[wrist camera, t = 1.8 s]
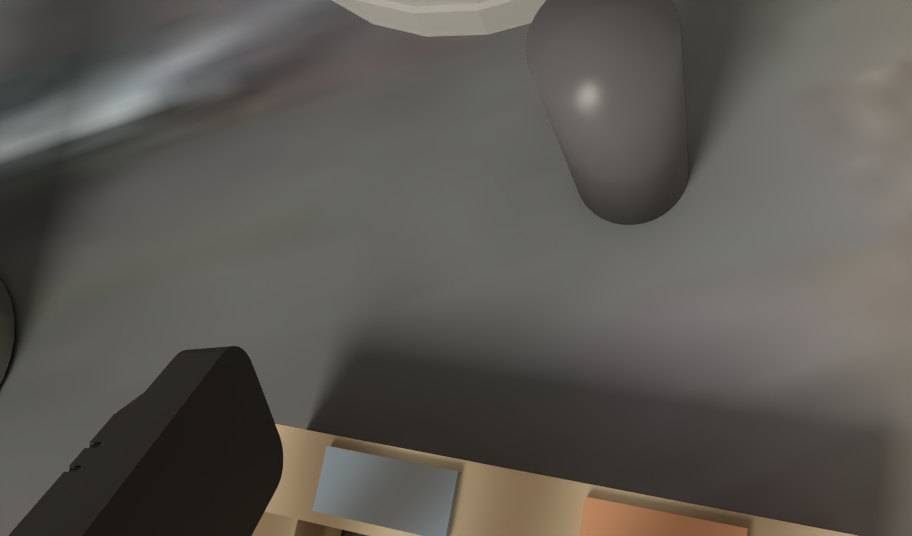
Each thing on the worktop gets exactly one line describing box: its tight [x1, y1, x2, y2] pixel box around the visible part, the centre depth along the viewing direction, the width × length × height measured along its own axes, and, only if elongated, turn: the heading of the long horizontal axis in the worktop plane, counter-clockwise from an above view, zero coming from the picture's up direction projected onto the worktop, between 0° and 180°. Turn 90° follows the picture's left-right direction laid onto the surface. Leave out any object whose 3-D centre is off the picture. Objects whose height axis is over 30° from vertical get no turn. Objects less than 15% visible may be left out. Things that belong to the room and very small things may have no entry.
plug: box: [526, 0, 689, 225], centre depth 29 cm, size 4×4×10 cm
